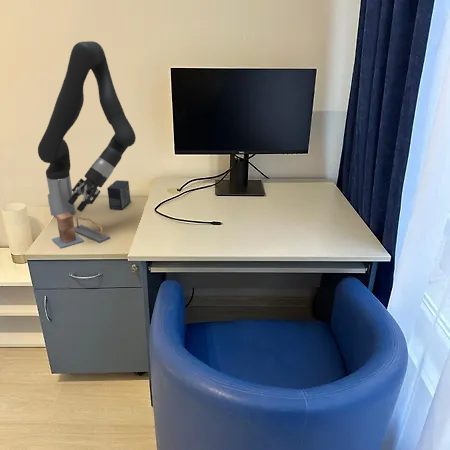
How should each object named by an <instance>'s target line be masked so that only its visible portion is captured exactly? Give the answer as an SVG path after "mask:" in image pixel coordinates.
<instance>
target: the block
mask: <svg viewBox="0 0 450 450" xmlns="http://www.w3.org/2000/svg"><path fill="white" fill-rule="evenodd" d="M55 218H56V221H57V222H56V223H57V228H58V234H59V237H60V240H62V241H63V242H64V243H68V242H71V241H75V240H76V235H75V228H74V227H75V223H74V215H71V214H69V213H68V212H67V213H63V214H59V215H56V217H55Z"/></svg>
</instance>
